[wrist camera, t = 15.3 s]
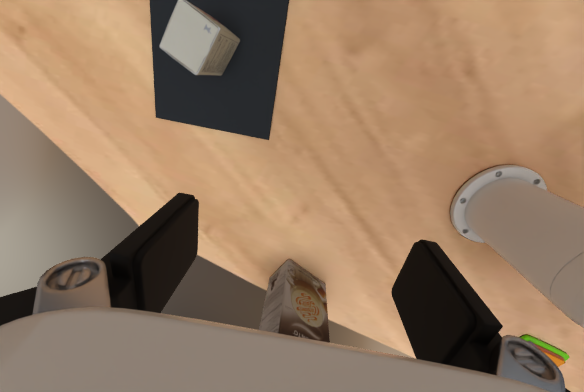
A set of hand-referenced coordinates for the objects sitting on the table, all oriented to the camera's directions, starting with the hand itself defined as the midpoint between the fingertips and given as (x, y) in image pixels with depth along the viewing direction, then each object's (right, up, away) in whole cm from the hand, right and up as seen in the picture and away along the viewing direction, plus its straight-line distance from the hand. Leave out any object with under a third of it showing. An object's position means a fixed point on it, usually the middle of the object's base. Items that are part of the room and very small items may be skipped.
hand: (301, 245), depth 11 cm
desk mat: (-10, +21, +20) cm, 30 cm away
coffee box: (+1, -14, +35) cm, 38 cm away
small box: (-10, +20, +20) cm, 30 cm away
